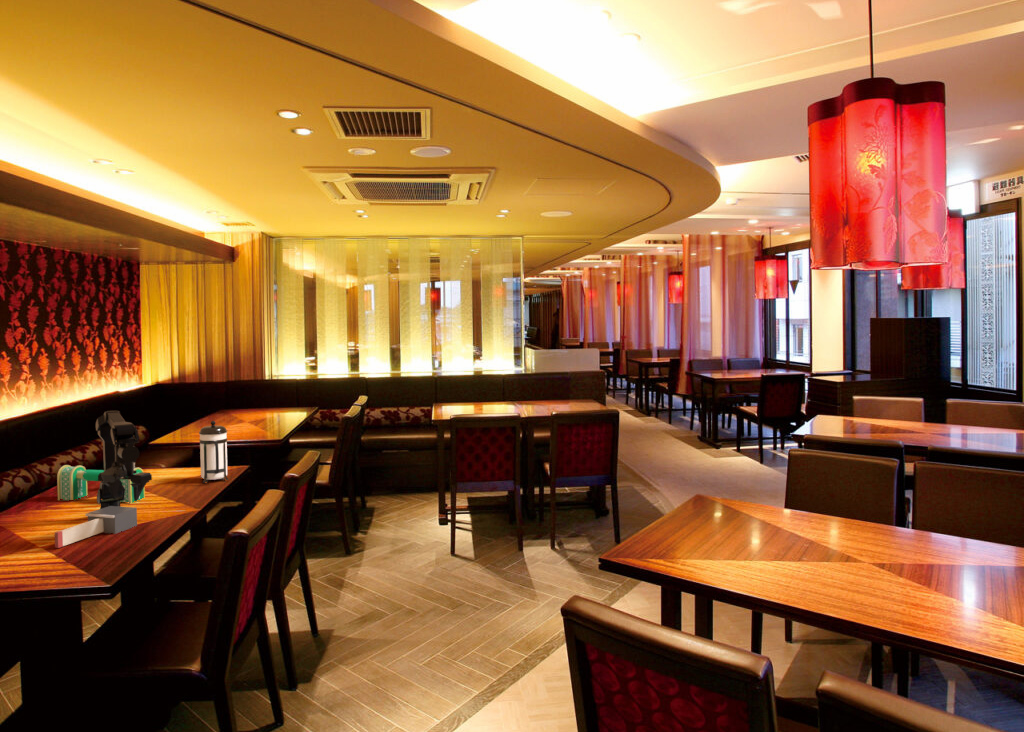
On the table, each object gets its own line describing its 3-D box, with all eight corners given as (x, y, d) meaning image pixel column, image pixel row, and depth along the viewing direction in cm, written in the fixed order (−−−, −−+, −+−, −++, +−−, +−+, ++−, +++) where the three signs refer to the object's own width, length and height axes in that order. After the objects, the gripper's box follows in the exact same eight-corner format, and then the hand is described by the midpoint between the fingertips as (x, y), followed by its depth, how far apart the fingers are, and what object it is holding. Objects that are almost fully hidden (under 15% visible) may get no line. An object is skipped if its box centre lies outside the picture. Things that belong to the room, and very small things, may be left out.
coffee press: (189, 483, 310) (187, 422, 309) (213, 476, 325) (211, 418, 324) (218, 485, 305) (216, 424, 304) (241, 478, 320) (239, 419, 319)
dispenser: (110, 523, 244) (110, 505, 243) (137, 525, 241) (136, 507, 241) (85, 532, 233) (85, 513, 233) (113, 534, 230) (112, 515, 230)
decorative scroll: (145, 499, 281) (144, 465, 280) (130, 504, 273) (129, 469, 272) (73, 495, 286) (72, 463, 285) (57, 500, 278) (56, 467, 277)
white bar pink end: (102, 530, 234) (102, 516, 234) (105, 530, 234) (105, 517, 233) (55, 547, 215) (54, 532, 215) (58, 547, 215) (58, 532, 215)
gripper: (84, 461, 227) (85, 504, 227) (127, 463, 223) (129, 507, 223) (110, 455, 238) (111, 496, 238) (152, 457, 233) (153, 499, 234)
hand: (125, 499), depth 233 cm, fingers open, 9 cm apart
